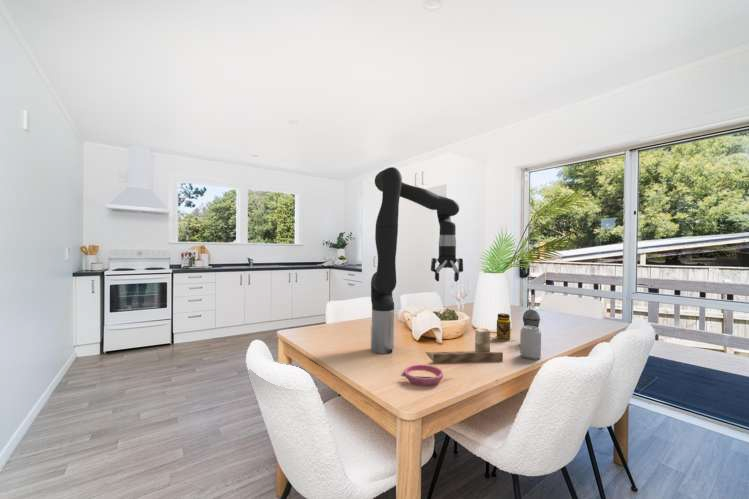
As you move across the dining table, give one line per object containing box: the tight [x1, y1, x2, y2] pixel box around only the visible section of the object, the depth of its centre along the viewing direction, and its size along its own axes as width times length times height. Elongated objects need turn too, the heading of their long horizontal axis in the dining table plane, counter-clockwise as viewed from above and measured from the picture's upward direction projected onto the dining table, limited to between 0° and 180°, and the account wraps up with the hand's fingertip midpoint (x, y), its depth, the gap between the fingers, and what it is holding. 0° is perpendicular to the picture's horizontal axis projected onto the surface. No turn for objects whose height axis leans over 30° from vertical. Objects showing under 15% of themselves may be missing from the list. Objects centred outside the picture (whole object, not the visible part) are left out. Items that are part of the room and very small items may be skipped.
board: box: [425, 350, 504, 364], centre depth 125 cm, size 26×12×4 cm, turn 97°
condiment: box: [490, 313, 514, 342], centre depth 156 cm, size 7×8×12 cm
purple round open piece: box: [403, 364, 444, 387], centre depth 106 cm, size 12×12×3 cm
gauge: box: [474, 328, 491, 352], centre depth 125 cm, size 4×7×10 cm
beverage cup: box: [522, 299, 541, 328], centre depth 148 cm, size 7×7×20 cm
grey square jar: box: [519, 325, 542, 360], centre depth 130 cm, size 8×8×12 cm
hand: (446, 281), depth 147 cm, fingers open, 8 cm apart
